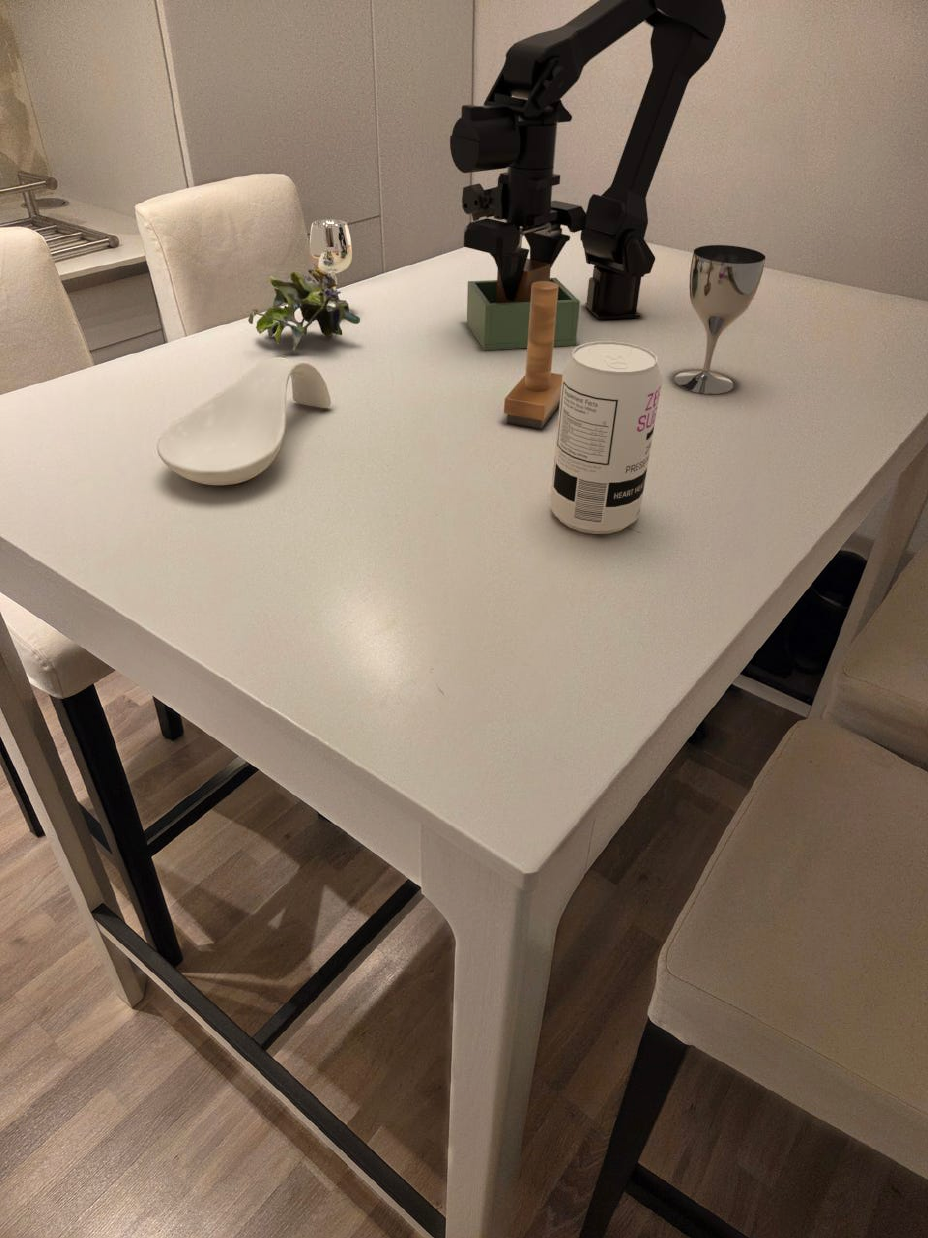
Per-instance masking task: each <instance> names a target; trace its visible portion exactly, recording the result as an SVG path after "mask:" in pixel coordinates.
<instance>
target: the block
mask: <svg viewBox="0 0 928 1238" xmlns="http://www.w3.org/2000/svg"><path fill="white" fill-rule="evenodd" d="M551 269H552V267H551V264H548V263H544V262H540V261H536V260H532V259H530V258H529V257H527V260H526V264H525V267H524V270H523V274H522V277H521V281H520V284H519V288H518V291H517V294H516V297H515V299H514V300H513V301H510V300H507V299H506V296H505V292H504V289H503V285H502V282H501V278H500V274H499V271H498V270H497V272H496V273H497V276H496V280H497V294H496V303H513V302H530V301H531V287H532V283H534V282H538V281H549V282H550V278H551Z"/></svg>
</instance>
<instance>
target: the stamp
mask: <svg viewBox="0 0 928 1238" xmlns="http://www.w3.org/2000/svg"><path fill="white" fill-rule="evenodd" d="M558 288H559V286H558V284H556V283H554V282H549V281H538V282H534V283H532V287H531V301H530V316H529V330H528V345H527V348H526V359H525V360H526V361H525V373H524V376H523V377H522V378H521V379H520V380H519V381H518V383H517V384H516V385H515V386H514V387H513V388H512V389H511V390H510V392H509V393H508V394H506V396H505V398H504V400H503V401H504V403H503V414H504V415H507V416H506V424H509V425H510V424H511V425H516V426H521V427H527V428H531V429H532V428H533V429H538V430H543V428H544V426H545V425H546V424H547V422H549V421H548V420H549V419H550V418H551V417H552V415H553V414H554V412H555V411H556V409H557V408H558V407H560V397H561V386H562V376H563V374H562V373H561V374H560V373H554V372H552V366H553V356H554V355H553V353H554V347H553V345H554V333H555V322H556V311H557V299H558Z"/></svg>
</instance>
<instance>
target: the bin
mask: <svg viewBox="0 0 928 1238" xmlns="http://www.w3.org/2000/svg"><path fill="white" fill-rule="evenodd" d="M550 282H554V283H556V284H558V286H559V288H558V299H557V311H556V322H555V333H554V345H553V348H555V347H571V346H572V347H573V346H576V344H577V334H578V325H579V316H580V315H579V313H580V305H581V301H580V300H579V299H578V298H577V297H576V296H575V295H574V294H573V293H572V292H571V291H570V290H569V289H568V288H567V287H566V286H565V285H564V284H563V283H562V282H561V281H560V280H559V279H558V278H557V277H550ZM496 294H497V279H492V280H491V279H490V280H489V279H487V280H468V281H467V294H466V295H467V296H466V298H467V299H466V325H467V326H468V328H469V330H470V331H471V333H472V334H473V337H475V339H476V340H477V342H478V343H479V345H480V346H481V348H482V350H483V351H500V350H516V349H517V350H518V349H527V345H528V330H529V316H530V302H513V303H496Z"/></svg>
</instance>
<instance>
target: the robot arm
mask: <svg viewBox="0 0 928 1238" xmlns="http://www.w3.org/2000/svg"><path fill="white" fill-rule="evenodd" d="M726 21H727V14H726V11H725V6H724V3H723V0H597V1H596V2H594V3H593V4H592V5H590V6H589V7H588V8H586V9H585V10H584V11H582V12H581V13H580V14H578V15H577V16H575V17H574V18H572V19H571V20H569V21H568V22H567V23H565V24H563V25H561V26H560V27H558V28H554V29H550V30H546V31H544V32H539V33H535V34H533V35H530V36H527V37H526V38H523V39H521V40H519V41H516V42H515V43H513V44H512V45H511V46H510V47H509V48H508V50H507V51H506V53H505V61H504V64H503V66H502V68H501V70H500V72H499V74H498V76H496V77H497V78H496V80H495V81H494V83H493V85H492V87H491V89H490V91H489V93H488V95H487V96H486V98H485V100H484V102H483V105H474V104H463V105H462V106H461V117H460V118H458V119H457V120H456V121H455V124H454V126H453V128H452V133H451V135H450V137H449V149H450V150H449V151H450V154H451V158H452V161H453V163H454V166H455V167H456V168H457V169H458V171H459V172H461V173H463V174H471V173H479V172H488V171H495V170H504V169H506V170H507V171H505V172H501V173H499V176H498V177H497V186H494V187H490V188H487V189H484V187H483V186H482V184H481V183H480V182H479V183H474V184H470V185H467V186H464V187H462V196H461V206H462V210H463V212H464V213H465V214H466V215H471V218H472V221H471V222H469V223H468V224H467V225H466V226H465V227H464V228H463V247H464V248H467V249H471V250H476V251H480V252H484V253H487V254H489V255H490V256H491V257H492V258H493V261H494V263H495V265H496V268H497V271H499V274H500V278H501V282H502V285H503V289H504V292H505V296H506V299H507V300H510V301H513V300H514V299H515V297H516V294H517V291H518V288H519V284H520V281H521V277H522V274H523V270H524V267H525V264H526V260H527V258H529V259H532V260H536V261H540V262H544V263H548V264H551V268H552V267H553V265H554V264H555V262H556V260H557V258H558V257H559V255H560V253H561V252H562V250H563V248H564V247H565V245H566V243H567V242H569V241H570V240H571V236H570V235H569V234H564V233H563V228H562V226H564V227H567V229H568V231H569V232H570V233H572V234H573V233H578V232H580V238H579V239H580V242H581V243H582V247H583V252H584V258H585V263H586V264H588V265H592V266H593V270H592V276H590V277H589V278H588V286H587V294H586V302H585V304H584V306H585V308H586V309H588V310H589V311H590V313H592V314H593V316H595V317H596V318H597V319H598V320H616V319H617V320H618V319H636V318H641V315H642V313H641V312H640V311H639V310H638V305H639V296H640V289H641V282H642V278H644V277H645V275H649V274H651V272H652V269H653V267H654V264H655V262H656V256H655V254H654V253H653V251H652V250H651V247H650V246H649V245H648V243H647V242H646V240H645V236H646V232H647V228H648V225H649V217H648V216H649V215H648V208H647V207H648V206H647V196H648V193H649V190H650V188H651V184H652V183H653V182H652V181H653V179H654V176H655V173H656V171H657V168H658V165H659V162H660V161H661V158H662V155H663V153H664V150H665V146H666V143H667V142H668V137H669V135H670V133H671V130H672V127H673V126H674V125H673V124H674V122H675V119H676V117H677V114H678V111H679V109H680V105H681V103H682V100H683V98H684V95H685V93H686V90H687V87H688V84H689V82H690V80H691V79H692V78H693V77H694V76H695V75H696V74H697V73H698V71H699V70H701V68H702V67H703V66H704V65H706V63H707V62H708V61H709V60H710V59H711V56H712V54H713V52H714V51H715V49H716V46H717V45H718V42H719V41H720V39H721V37H722V35H723V34H722V33H723V32H724V29H725V26H726ZM642 23H644V24H646V25H647V26H649V27H651V28H652V32H651V36H650V41H649V42H650V44H649V45H650V54H651V63H652V68H651V71H650V74H649V77H648V80H647V83H646V85H645V89H644V91H643V93H642V97H641V100H640V103H639V106H638V109H637V111H636V114H635V117H634V119H633V122H632V125H631V128H630V131H629V134H628V137H627V139H626V142H625V144H624V148H623V151H622V154H621V155H620V156H621V157H620V160H619V162H618V165H617V168H616V171H615V173H614V177H613V179H612V182H611V184H610V186H608V188H607V189H606V190H605V191H604V192H603V193H602V194H601V195H599V194H596V193H592V194H591V197H590V198H589V199H588V203H587V206H586V207H587V208H586V211H585V210H584V208H583V206H582V205H579V204H574V203H568V202H564V201H558V200H553V199H552V197H553V186H558V185H560V184H561V175H560V174H555V173H554V171H555V160H556V159H555V157H556V145H557V133H558V123H559V124H561V123H570V122H572V120H573V115H572V114H571V112H569V110H567V108H566V107H565V106H564V104H563V102H562V100H561V99H563V97H564V96H565V95H566V94H567V93H568V92H569V91H571V89H572V88H573V87H574V86H575V85H576V83H577V82H579V80H580V78H581V75H582V72H583V70H584V67H585V66H587V65H588V63H589V62H590V61H591V60H593V59H594V58H595V57H597V56H598V55H599V54H601V53H602V52H604V51H605V50H607V49H608V48H609V47H611V46H612V45H613V44H615V43H616V42H617V41H619V40H620V39H621V38H623V37H624V36H626V35H627V34H628V33H630V32H631V31H632V30H634V29H635V28H636V27H638V26H639V25H641V24H642ZM491 217H492V218H491ZM481 218H482V219H481ZM502 220H504V221H502ZM523 237H524V238H525V240H526V242H527V244H528V247H529V249H528V248H524V247H522V245H523V243H522V242H523ZM528 256H529V257H528Z"/></svg>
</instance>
